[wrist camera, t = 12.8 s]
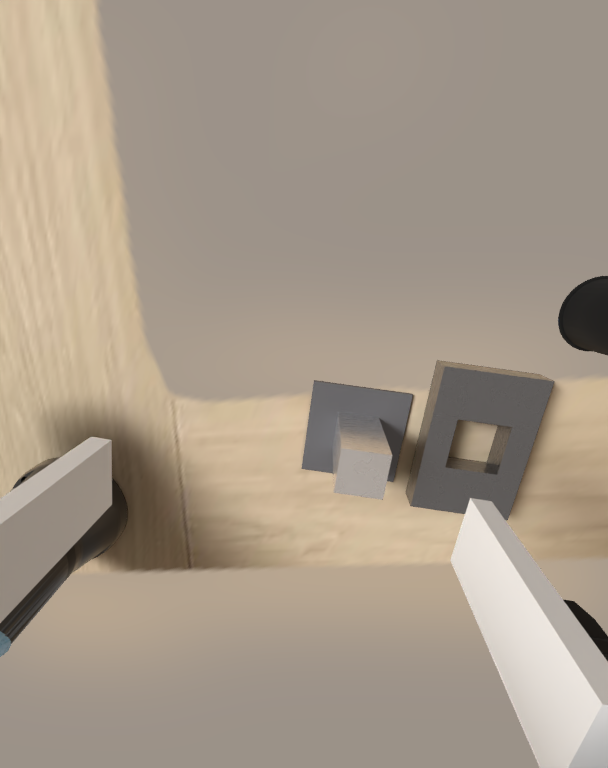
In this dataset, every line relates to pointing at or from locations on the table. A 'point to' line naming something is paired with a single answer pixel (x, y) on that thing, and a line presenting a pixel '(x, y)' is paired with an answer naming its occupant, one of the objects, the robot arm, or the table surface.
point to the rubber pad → (354, 401)
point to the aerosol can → (586, 316)
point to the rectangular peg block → (360, 456)
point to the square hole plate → (485, 405)
